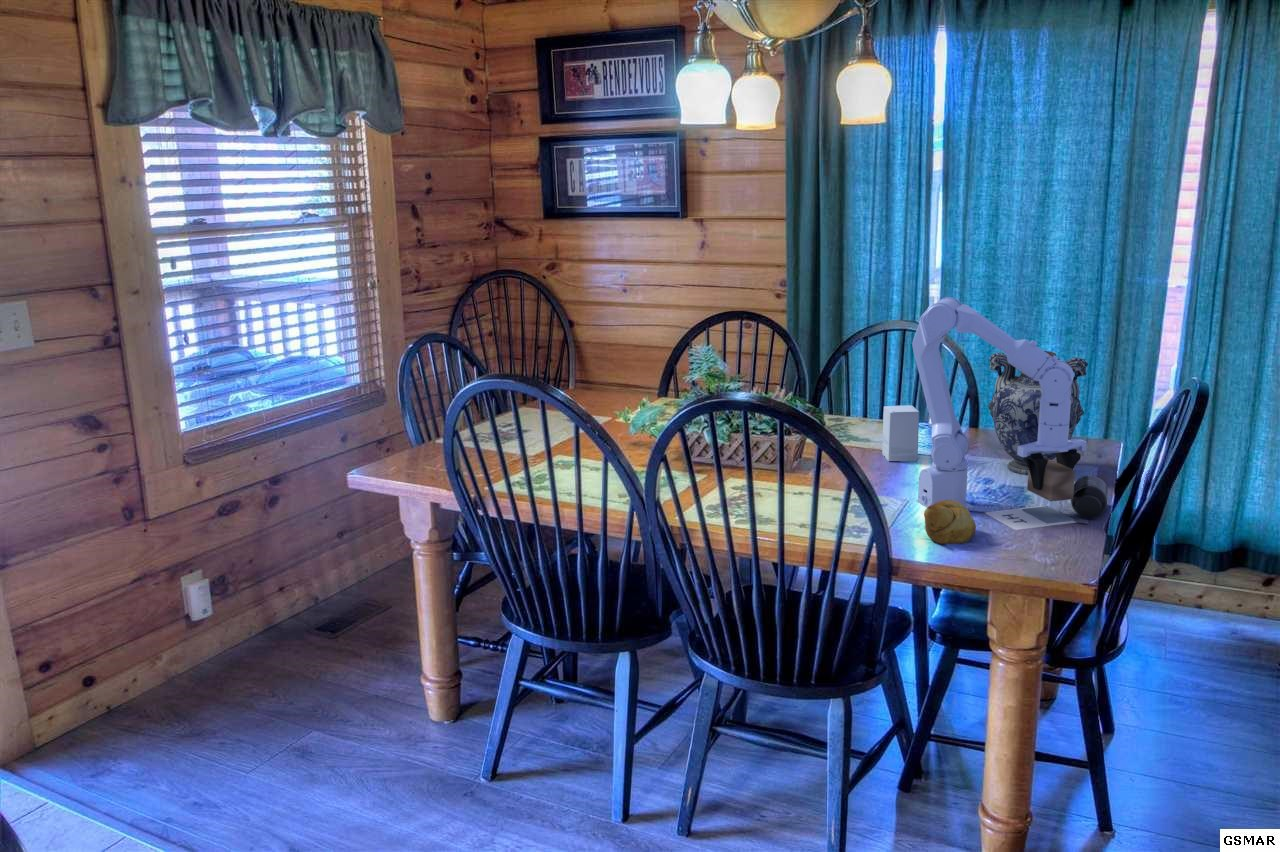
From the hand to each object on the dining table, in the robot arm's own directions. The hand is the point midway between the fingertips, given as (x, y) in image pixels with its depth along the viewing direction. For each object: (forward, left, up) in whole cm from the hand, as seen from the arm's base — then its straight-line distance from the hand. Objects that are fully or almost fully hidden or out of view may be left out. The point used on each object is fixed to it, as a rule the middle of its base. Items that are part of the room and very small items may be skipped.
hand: (1049, 487), depth 209 cm
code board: (-4, 0, -7) cm, 8 cm away
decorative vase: (+17, +31, -7) cm, 36 cm away
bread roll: (-24, -3, -7) cm, 25 cm away
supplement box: (-7, +50, -7) cm, 51 cm away
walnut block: (0, 0, -1) cm, 1 cm away
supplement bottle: (+13, +4, -3) cm, 14 cm away
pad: (0, 0, -6) cm, 6 cm away
